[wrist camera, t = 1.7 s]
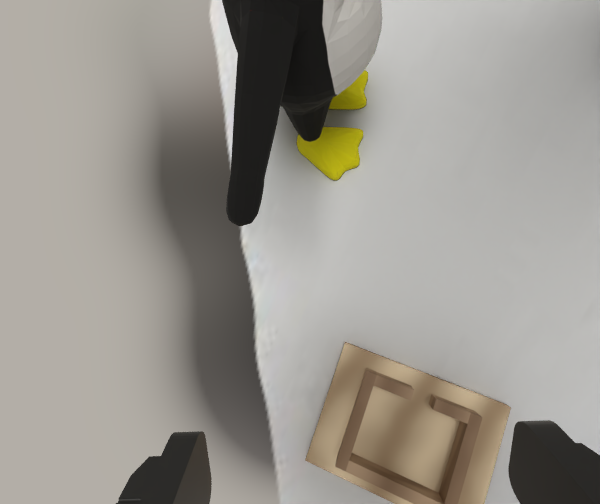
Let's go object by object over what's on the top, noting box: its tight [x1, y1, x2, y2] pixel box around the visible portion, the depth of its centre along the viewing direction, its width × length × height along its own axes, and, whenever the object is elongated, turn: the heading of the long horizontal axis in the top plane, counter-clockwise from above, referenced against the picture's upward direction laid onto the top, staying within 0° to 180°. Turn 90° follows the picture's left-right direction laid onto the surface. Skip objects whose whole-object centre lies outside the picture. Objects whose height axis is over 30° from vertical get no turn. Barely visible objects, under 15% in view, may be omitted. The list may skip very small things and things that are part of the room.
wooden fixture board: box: [305, 342, 511, 504], centre depth 32 cm, size 16×12×3 cm
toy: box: [222, 0, 382, 226], centre depth 26 cm, size 37×12×30 cm, turn 173°
